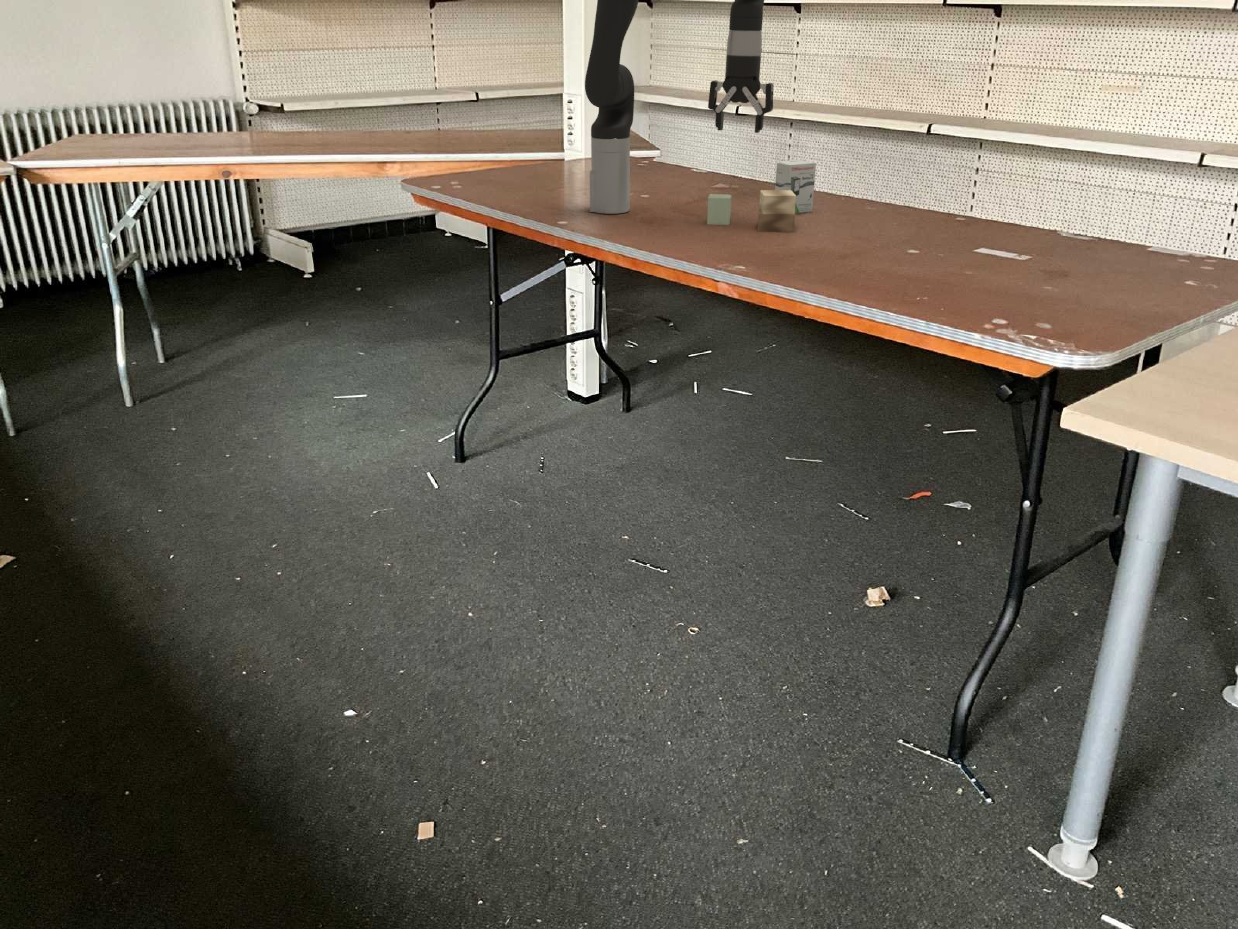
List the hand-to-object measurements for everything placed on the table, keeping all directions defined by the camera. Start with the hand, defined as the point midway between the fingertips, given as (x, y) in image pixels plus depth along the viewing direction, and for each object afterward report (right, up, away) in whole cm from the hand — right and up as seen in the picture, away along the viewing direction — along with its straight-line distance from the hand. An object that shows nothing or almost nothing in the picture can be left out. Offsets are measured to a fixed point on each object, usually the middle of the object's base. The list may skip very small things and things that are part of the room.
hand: (738, 131), depth 219 cm
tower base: (+9, -22, +1) cm, 23 cm away
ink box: (+15, -14, +18) cm, 28 cm away
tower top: (+8, -18, -1) cm, 20 cm away
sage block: (-4, -19, +6) cm, 20 cm away
